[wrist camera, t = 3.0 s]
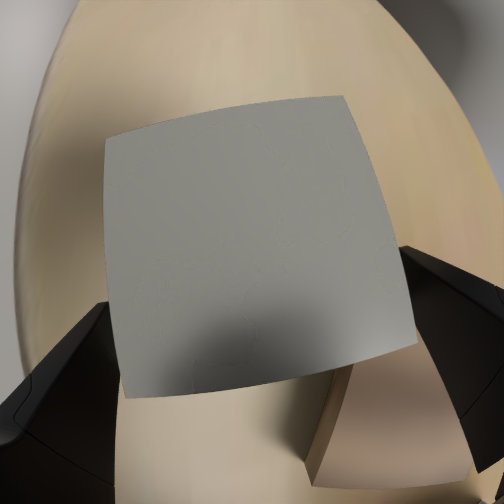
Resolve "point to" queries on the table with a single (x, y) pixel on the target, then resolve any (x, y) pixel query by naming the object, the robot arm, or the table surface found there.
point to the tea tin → (248, 249)
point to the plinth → (388, 426)
